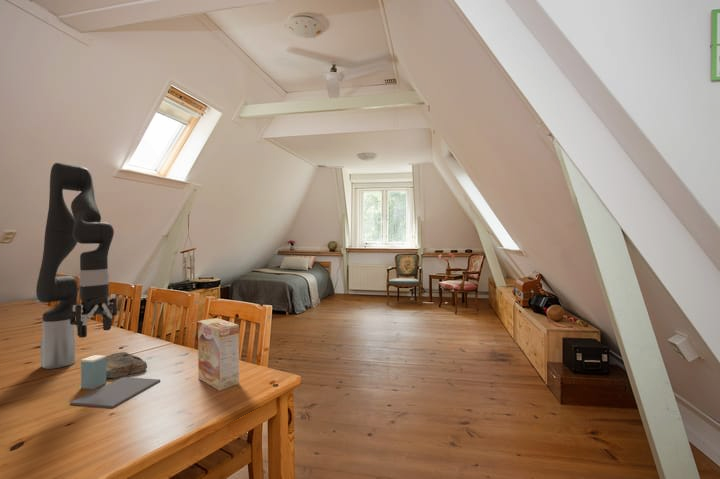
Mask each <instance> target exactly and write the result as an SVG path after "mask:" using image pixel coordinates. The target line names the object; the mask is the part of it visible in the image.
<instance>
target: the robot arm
mask: <svg viewBox="0 0 720 479" xmlns="http://www.w3.org/2000/svg"><path fill="white" fill-rule="evenodd" d="M64 190H66V191H71V192H72V191H73V192H80V193H78V195H76V196H75V197H74V198H73V200H72V201H71V205H70V209H69V208H68V206H67V204H66V202H65V199H64V193H63V191H64ZM48 196H49V200H48V212H47V217H46V224H45V230H44V241H43V242H44V243H43V253H42V258H41V265H40V268H39V274H38V278H37V281H36V289H35V290H36V291H35V294H36V298H37V300H38V301H39V302H40V303H44V304H45V303H46V304H47V303H55V302H59V303H58V304H57V305H56V306H54V307H52V308H51V309H49V310H47V311H45V312H44V313H43V314H42V340H41V341H40V367H42V368H43V369H44V370H45V369H46V370H49V369H51V370H52V369H58V368H59V369H60V368H63V367H64V368H65V367H67V366H70V365H72V364H75V363H76V336H78V337H79V338H83V339H84V338H86V337H87V335H88V331H87V330H88V329H87V327H88V325H87V324H88V321H89V320H91V318H92V317H94V316H97V315H100V316H101V317H102V318H103V319H102V329H103V331H110V330H111V328H112V318H113V317H115V316H117V314H118V308H117V298H116V297H109V296H110V278H109V277H110V276H109V275H110V274H109V270H108V269H109V268H108V267H109V266H108V264H109V263H108V262H109V261H108V260H109V259H108V258H109V257H108V256H109V251H110V247H111V244H112V241H113V238H114V233H115V231H114V227H113V225H112V224H111V223H109V222H105V221H103V222H102V221H101V220H102V217H101V213H100V210H99V208H98V206H97V202H96V198H95V190H94V182H93V177H92V173H91V172H90V170H89V169H88V168H87V167H83V166H80V165H79V166H78V165H74V164H68V163H62V162H54V163H53V165H52V166H51V169H50V176H49V195H48ZM77 243H78V244H82V245H85V244H87V245H88V244H89V245H91V244H98V246H97V248H95V249H92V250H87V251H83V252H81V254H80V255H79V256H80V257H79V268H80V269H79V279H78V280H79V285H78V282H77V279H76V278H75V277H74V276H73V275H63V276H62V275H60V276H57V272H58V269H59V268H60V265H61V264H62V262H63V261H64V260H65V259H66V258H67V257H68V256H69V255H70V253H72V251H73V250H74V249H75V247H76V245H77ZM78 286H79V293H78ZM78 294H79V299H80V300H81V303H80V304H78ZM76 326H77V332H76ZM76 333H77V334H76Z"/></svg>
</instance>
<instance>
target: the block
mask: <svg viewBox="0 0 720 479" xmlns="http://www.w3.org/2000/svg"><path fill="white" fill-rule="evenodd" d="M106 356H107V355H98V354H94V355H91V356H88V357H86V358H82V359H80V384H81V385H80V387H81V388H80V389H87V390H89V389H90V390H94V389H98V387H99V388H100V387H102V386H103V385H105V384H107V378H106Z"/></svg>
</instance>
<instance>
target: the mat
mask: <svg viewBox="0 0 720 479" xmlns="http://www.w3.org/2000/svg"><path fill="white" fill-rule="evenodd" d="M160 382H161V379H159V378H157V379H156V378H142V377H128V376H124V377H119V378H117V379H115V380H114V381H112V382H110V383H108V384H106V385H105V384H104V386H103V385H102V386H100V387H99V388H96V390H93V391H91V392H88V393H86V394H85V395H82V396H79V397H78V398H76V399H74V400H72V401H70V402H69V405H72V406H73V405H75V406H83V407H84V406H85V407H95V408H109V409H113V408H115V407H118V406H119V405H122V403H124V402H126V401H128V400H130V399H131V398H133V397H135V396H137V395H139V394H140V393H142V392H144V391H145V390H148V389H149V388H151V387H153V386H155V385H156V384H158V383H160Z"/></svg>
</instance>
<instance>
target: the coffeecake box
mask: <svg viewBox="0 0 720 479" xmlns="http://www.w3.org/2000/svg"><path fill="white" fill-rule="evenodd" d="M239 330H240V325H239V324H237V323H234V322H231V321H227V320H225V319H221V318H218V317H216V318H215V317H214V318H209V319H202V320H199V321H197V332H198V333H197V338H198V340H197V341H198V342H197V346H198V347H197V348H198V349H197V350H198V351H197V352H198V353H197V355H198V356H197V357H198V359H197V360H198V365H197V366H198V368H197V370H198V373H197V375H198V376H197V377H198V380H201V381H202V382H204V383H205V384H207V385H209V386H211V387H212V388H214V389H216V390H218V391H219V392H220V391H223V390H227V389H228V388H231V387H234V386H237V385H240V351H239V350H240V340H239V338H240V335H239V333H240V331H239Z"/></svg>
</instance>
